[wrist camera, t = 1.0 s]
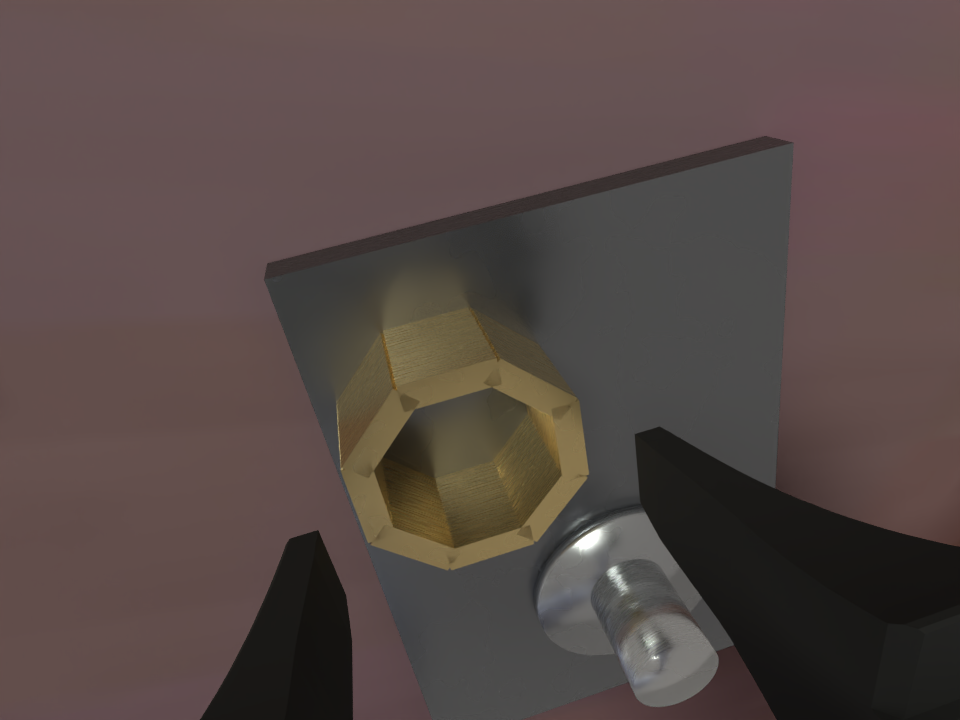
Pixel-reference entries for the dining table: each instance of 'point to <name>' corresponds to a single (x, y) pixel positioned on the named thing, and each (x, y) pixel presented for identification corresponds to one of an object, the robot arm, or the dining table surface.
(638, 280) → the block
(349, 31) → the dining table surface
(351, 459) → the ring
